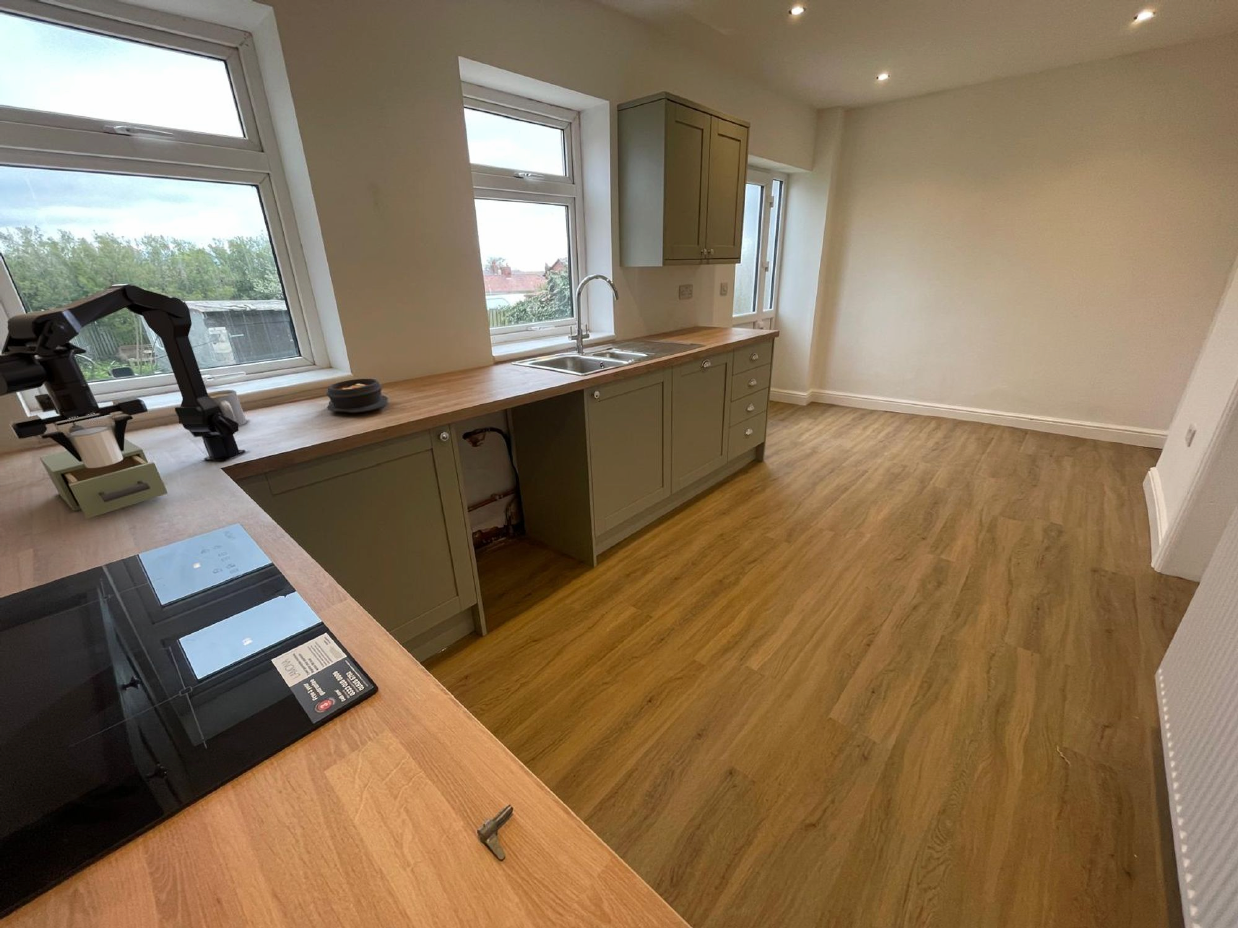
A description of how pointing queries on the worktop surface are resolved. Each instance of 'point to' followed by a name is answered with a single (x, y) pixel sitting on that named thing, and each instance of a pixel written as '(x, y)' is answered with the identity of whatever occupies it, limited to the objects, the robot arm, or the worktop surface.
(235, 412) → the coffee mug
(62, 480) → the cabinet
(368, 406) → the casserole
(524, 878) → the worktop surface
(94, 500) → the drawer
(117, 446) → the white cup
